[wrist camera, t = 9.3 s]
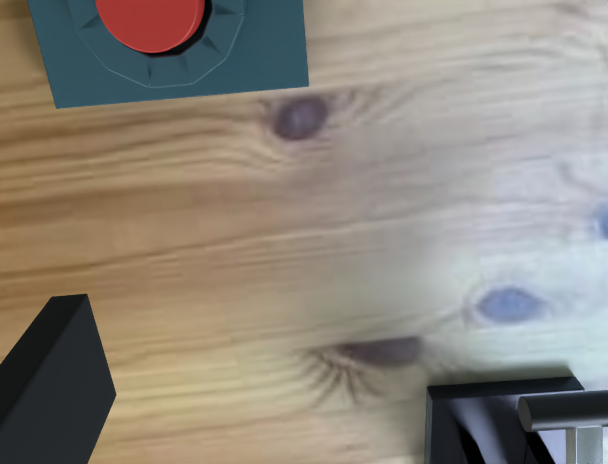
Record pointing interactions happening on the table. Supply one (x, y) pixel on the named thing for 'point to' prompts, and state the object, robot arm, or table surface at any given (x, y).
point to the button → (151, 22)
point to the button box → (171, 53)
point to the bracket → (491, 423)
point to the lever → (569, 421)
